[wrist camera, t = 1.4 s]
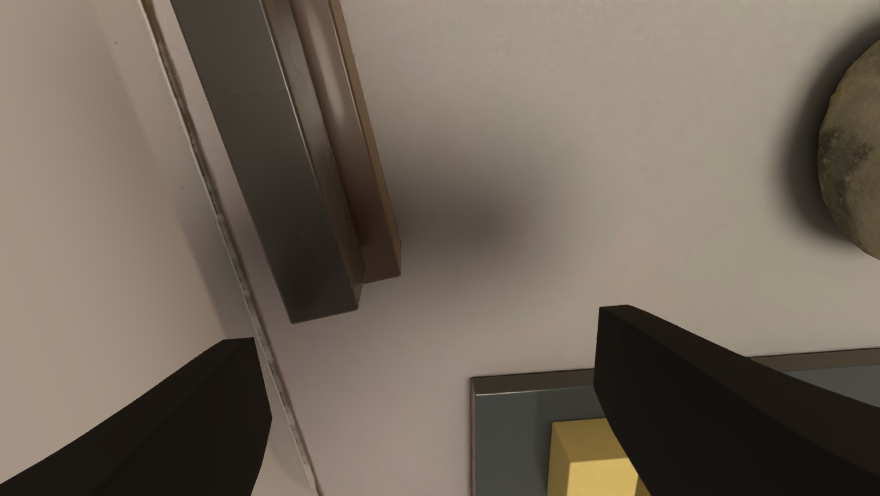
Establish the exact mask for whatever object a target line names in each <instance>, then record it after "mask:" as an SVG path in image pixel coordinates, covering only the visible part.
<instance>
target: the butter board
mask: <svg viewBox="0 0 880 496" xmlns="http://www.w3.org/2000/svg"><path fill="white" fill-rule="evenodd" d="M748 359H751V360H753V361H756V362H758V363H760V364H763V365H765V366H768V367H770V368H772V369H775V370H777V371H780V372H782V373H785V374H787V375H789V376H792V377H794V378H797V379H800V380H802V381H805V382H808V383H810V384H813V385H816V386H818V387H821V388H824V389H827V390H830V391H833V392H836V393H838V394H841V395H844V396H847V397H850V398H853V399H856V400H858V401H861V402H864V403H867V404H870V405H873V406H877V407H880V348H879V349H865V350H852V351H838V352H824V353H811V354H797V355H783V356H769V357H756V358H748ZM593 380H594V369H591V370H577V371H564V372H550V373H536V374H522V375H509V376H495V377H481V378H472V380H471V419H472V496H548V495H547V487H548V474H549V461H550V448H551V434H552V423H553V422H560V421H573V420H585V419H598V418H606V417H605V414H604V412H603V410H602V408H601V405H600V403H599V400H598V398H597V395H596V393H595V391H594V388H593ZM635 496H636V494H635Z"/></svg>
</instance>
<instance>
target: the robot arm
mask: <svg viewBox="0 0 880 496" xmlns="http://www.w3.org/2000/svg"><path fill="white" fill-rule="evenodd" d="M593 388H594V391H595V393H596V395H597V398H598V400H599V403H600V405H601V408H602V410H603V412H604V414H605V417H606V419H607V421H608V423H609V425H610V428H611V430H612V431H613V433H614V435H615V437H616V438H617V440H618V442H619V444H620V445H621V447H622V449H623V450H624V452H625V454H626V455H627V457H628V459H629V460H630V462H631V464H632V465H633V467H634V469H635V470H636V472H637V474H638V475H639V477H640V479H641V480H642V482H643V484H644V485H645V487H646V489H647V490H648V492H649V493H650V495H651V496H880V407H877V406H873V405H870V404H867V403H864V402H861V401H858V400H856V399H853V398H850V397H847V396H844V395H841V394H838V393H836V392H833V391H830V390H827V389H824V388H821V387H818V386H816V385H813V384H810V383H808V382H805V381H802V380H800V379H797V378H794V377H792V376H789V375H787V374H785V373H782V372H780V371H777V370H775V369H772V368H770V367H768V366H765V365H763V364H760V363H758V362H756V361H753V360H751V359H748V358H746V357H744V356H742V355H739V354H737V353H735V352H733V351H730V350H728V349H726V348H724V347H721V346H719V345H717V344H715V343H713V342H711V341H708V340H706V339H704V338H702V337H700V336H698V335H696V334H693V333H691V332H689V331H687V330H685V329H683V328H681V327H679V326H676V325H674V324H672V323H670V322H668V321H666V320H664V319H661V318H659V317H657V316H655V315H653V314H650V313H648V312H646V311H643V310H641V309H638V308H636V307H633V306H630V305H618V306H606V307H599V319H598V331H597V343H596V356H595V368H594V380H593ZM271 422H272V414H271V410H270V406H269V401H268V397H267V393H266V388H265V384H264V380H263V375H262V371H261V366H260V362H259V358H258V353H257V349H256V345H255V340H254V337H250V338H238V339H227V340H222V341H220V342H219V343H217V344H215V345H214V346H212V347H210V348H209V349H207V350H206V351H204V352H203V353H202V354H200V355H199V356H197V357H196V358H194V359H193V360H191V361H190V362H189V363H187V364H186V365H184V366H183V367H181V368H180V369H179V370H177V371H176V372H175V373H173V374H172V375H170V376H169V377H167V378H166V379H165V380H163V381H162V382H160V383H159V384H158V385H156V386H155V387H153V388H152V389H150V390H149V391H148V392H146V393H145V394H143V395H142V396H141V397H139V398H138V399H136V400H135V401H133V402H132V403H130V404H129V405H128V406H126V407H124V408H123V409H121V410H120V411H118V412H117V413H115V414H114V415H112V416H111V417H109V418H108V419H106V420H105V421H103V422H102V423H100V424H99V425H97V426H96V427H94V428H93V429H91V430H90V431H88V432H87V433H85V434H84V435H82V436H80V437H79V438H77V439H76V440H74V441H73V442H71V443H70V444H68V445H66V446H65V447H63V448H61V449H60V450H58V451H57V452H55V453H53V454H52V455H50V456H48V457H47V458H45V459H44V460H42V461H40V462H38V463H37V464H35V465H33V466H31V467H30V468H28V469H26V470H24V471H23V472H21V473H19V474H17V475H16V476H14V477H12V478H10V479H9V480H7V481H5V482H3V483H2V484H0V496H251V493H252V490H253V487H254V485H255V482H256V479H257V477H258V474H259V471H260V468H261V465H262V461H263V457H264V453H265V449H266V445H267V441H268V436H269V431H270V427H271Z"/></svg>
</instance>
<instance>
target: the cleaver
mask: <svg viewBox="0 0 880 496" xmlns="http://www.w3.org/2000/svg"><path fill="white" fill-rule="evenodd" d="M170 1H171V4H172V7H173V10H174V12H175V15H176V18H177V20H178V23H179V26H180V28H181V31H182V34H183V36H184V39H185V42H186V44H187V47H188V50H189V52H190V55H191V58H192V60H193V63H194V66H195V68H196V71H197V74H198V76H199V79H200V82H201V84H202V87H203V90H204V92H205V95H206V98H207V100H208V103H209V106H210V108H211V111H212V114H213V117H214V119H215V122H216V125H217V127H218V130H219V133H220V135H221V138H222V141H223V143H224V146H225V149H226V151H227V154H228V157H229V159H230V162H231V165H232V167H233V170H234V173H235V175H236V178H237V181H238V183H239V186H240V189H241V191H242V194H243V197H244V199H245V202H246V205H247V207H248V210H249V213H250V215H251V218H252V221H253V224H254V226H255V229H256V232H257V234H258V237H259V240H260V242H261V245H262V248H263V250H264V253H265V256H266V258H267V261H268V264H269V266H270V269H271V272H272V274H273V277H274V280H275V282H276V285H277V288H278V290H279V293H280V296H281V298H282V301H283V304H284V306H285V309H286V312H287V314H288V317H289V320H290V322H291V324H296V323H301V322H305V321H310V320H314V319H319V318H323V317H328V316H332V315H337V314H341V313H346V312H351V311H355V310H357V309H358V306H359V300H360V295H361V289H362V284H363V278H364V272H365V263H364V260H363V256H362V253H361V249H360V246H359V242H358V239H357V235H356V232H355V228H354V225H353V221H352V218H351V215H350V211H349V208H348V204H347V201H346V197H345V194H344V190H343V187H342V183H341V180H340V176H339V173H338V169H337V166H336V163H335V159H334V156H333V152H332V149H331V145H330V142H329V138H328V135H327V131H326V128H325V124H324V121H323V118H322V114H321V111H320V107H319V104H318V100H317V97H316V93H315V90H314V86H313V83H312V79H311V76H310V73H309V69H308V66H307V62H306V59H305V55H304V52H303V48H302V45H301V41H300V38H299V34H298V31H297V28H296V24H295V21H294V17H293V14H292V10H291V7H290V3H289V0H170Z"/></svg>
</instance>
